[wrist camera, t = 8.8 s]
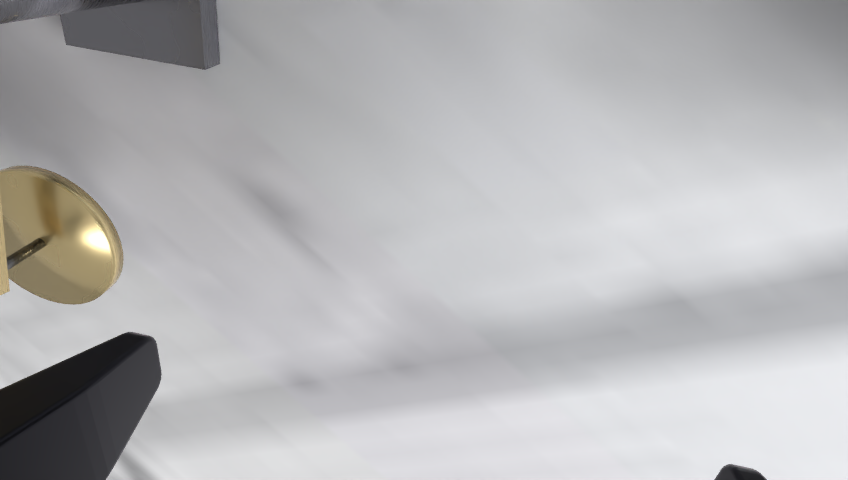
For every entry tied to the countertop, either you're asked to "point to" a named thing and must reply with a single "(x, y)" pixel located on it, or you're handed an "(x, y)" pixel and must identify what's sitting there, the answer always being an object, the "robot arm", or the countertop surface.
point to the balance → (57, 196)
